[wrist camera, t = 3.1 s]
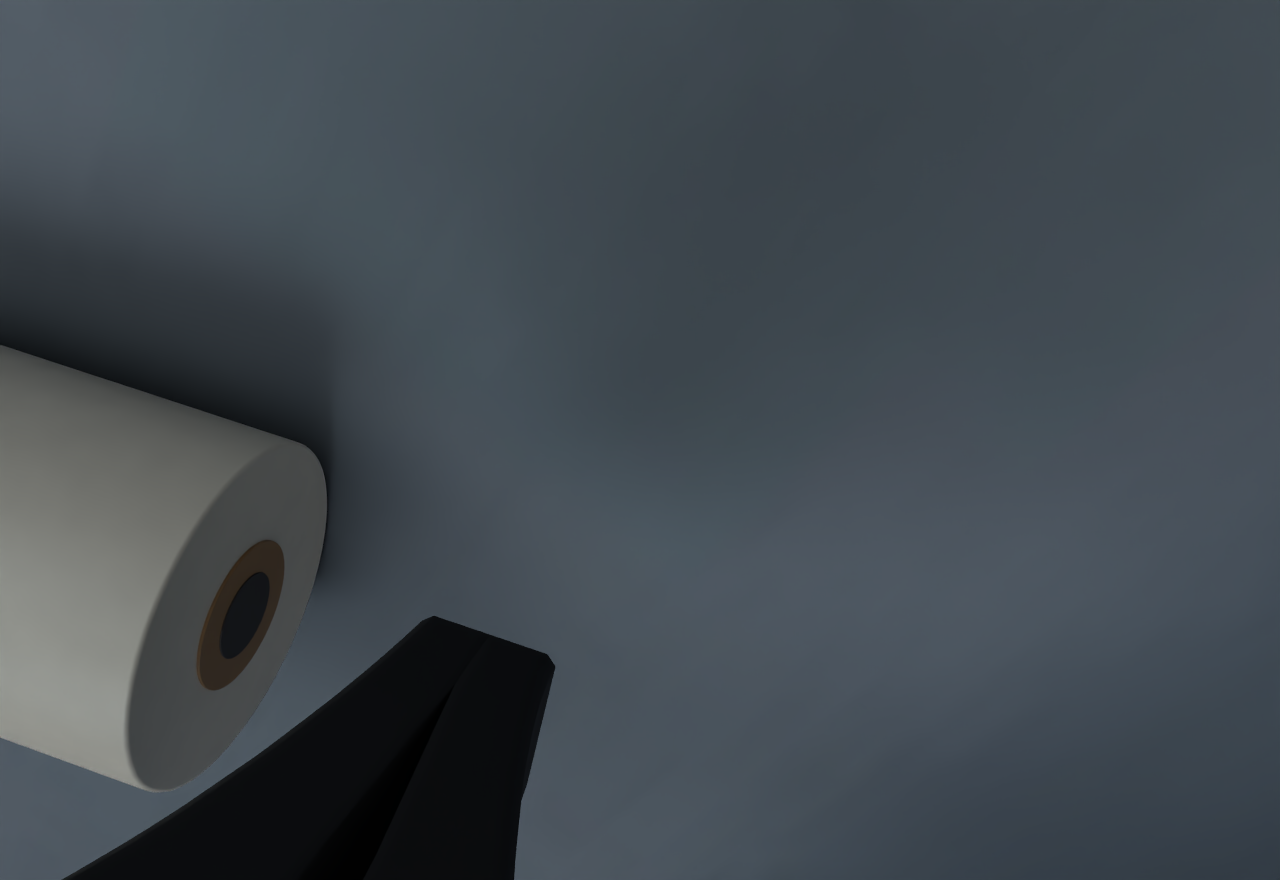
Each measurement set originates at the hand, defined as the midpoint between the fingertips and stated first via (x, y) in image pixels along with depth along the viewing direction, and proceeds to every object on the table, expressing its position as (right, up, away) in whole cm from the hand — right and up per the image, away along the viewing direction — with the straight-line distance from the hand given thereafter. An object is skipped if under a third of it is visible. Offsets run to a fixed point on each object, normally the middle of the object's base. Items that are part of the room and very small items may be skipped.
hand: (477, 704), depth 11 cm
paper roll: (-5, +3, +3) cm, 7 cm away
